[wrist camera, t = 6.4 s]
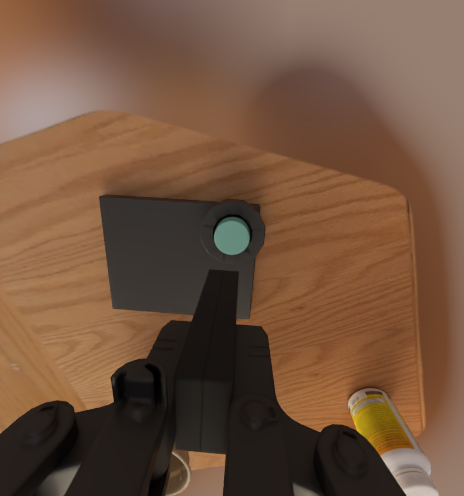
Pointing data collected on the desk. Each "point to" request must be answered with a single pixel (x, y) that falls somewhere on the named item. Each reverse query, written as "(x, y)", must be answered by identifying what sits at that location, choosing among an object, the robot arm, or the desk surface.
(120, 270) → the scale
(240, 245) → the button
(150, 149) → the desk surface
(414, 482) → the supplement bottle
